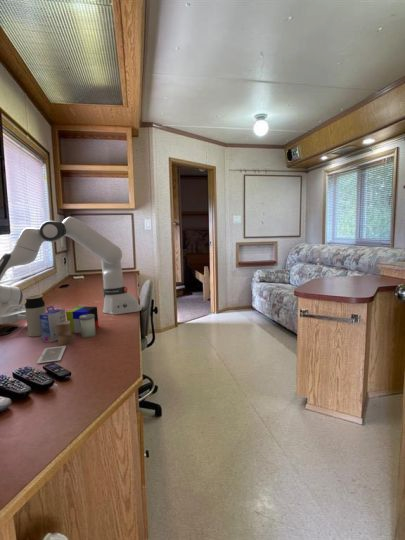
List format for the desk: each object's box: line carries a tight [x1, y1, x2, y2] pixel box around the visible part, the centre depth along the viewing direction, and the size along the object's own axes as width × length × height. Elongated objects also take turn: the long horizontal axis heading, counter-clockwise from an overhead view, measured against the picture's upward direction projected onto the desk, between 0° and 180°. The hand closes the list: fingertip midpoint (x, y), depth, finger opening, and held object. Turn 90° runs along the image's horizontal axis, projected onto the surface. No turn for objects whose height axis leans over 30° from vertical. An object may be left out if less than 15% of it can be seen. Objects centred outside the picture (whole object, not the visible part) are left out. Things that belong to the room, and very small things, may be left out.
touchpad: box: [36, 345, 67, 364], centre depth 118 cm, size 8×15×2 cm, turn 16°
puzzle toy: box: [65, 306, 99, 334], centre depth 149 cm, size 10×10×10 cm
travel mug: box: [24, 294, 46, 337], centre depth 144 cm, size 8×8×18 cm
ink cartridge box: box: [39, 305, 67, 343], centre depth 137 cm, size 10×6×14 cm, turn 161°
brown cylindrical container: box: [56, 320, 73, 347], centre depth 131 cm, size 5×5×9 cm
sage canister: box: [79, 314, 96, 338], centre depth 140 cm, size 6×6×9 cm
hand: (27, 316), depth 148 cm, fingers closed
